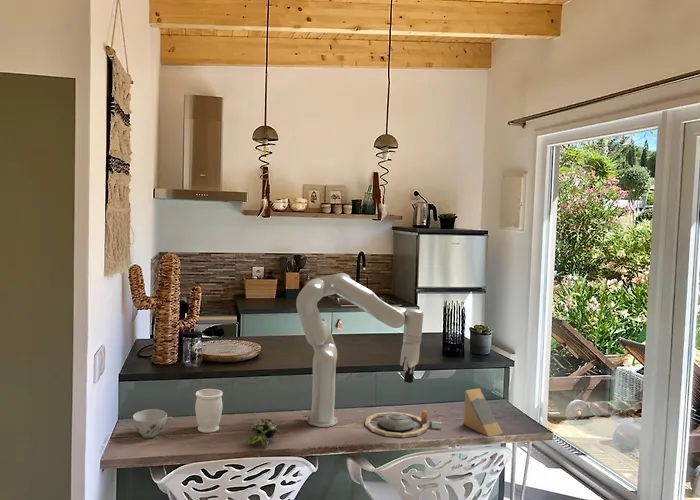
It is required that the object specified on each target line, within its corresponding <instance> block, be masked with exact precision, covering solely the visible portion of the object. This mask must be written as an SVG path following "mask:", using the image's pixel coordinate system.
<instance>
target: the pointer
mask: <svg viewBox="0 0 700 500" xmlns="http://www.w3.org/2000/svg"><path fill="white" fill-rule="evenodd" d="M428 423H429V425H428V427H429V428H428V429H434V430H442V427H443V426H442V425H443V424H442V421H433V420H432V421H429V422H428Z"/></svg>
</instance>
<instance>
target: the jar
mask: <svg viewBox="0 0 700 500" xmlns="http://www.w3.org/2000/svg"><path fill="white" fill-rule="evenodd" d="M222 396H223V391H222V390H220V389H216V388H203V389H200V390H197V391H196V392H195V397H196V399H195V400H196V401H195V405H194V406H195V408H194V410H195V417H196V422H197V424H198V425H197V426H198V427H197V430H198V432H200V433H204V434H205V433H208V434H210V433H215V432H217V431H219V430H220V426H219V424H220V422H221V418H222V413H223V398H222Z"/></svg>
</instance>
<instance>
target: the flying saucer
mask: <svg viewBox="0 0 700 500" xmlns="http://www.w3.org/2000/svg"><path fill="white" fill-rule="evenodd" d="M378 424H379V426H380V427H382V428H384V429H386V430H389V431H397V432H398V431H399V432H401V431H409V430H411V429H413V428H414V426H415V423H414V421H413V419H411V418H409V417H407V416H406V415H403V414H399V413H391V414H387V415H385V416H381V417H380V418H379V420H378Z"/></svg>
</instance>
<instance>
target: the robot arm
mask: <svg viewBox="0 0 700 500" xmlns="http://www.w3.org/2000/svg"><path fill="white" fill-rule="evenodd" d="M332 295H337V296H339V297H340V298H342V299H344V300H346V301H348V302H350V303H351V304H352V305H354V306H356V307H357V308H359V309H361V310H363V311H364V312H365V313H367V314H369V316H372V317H373V318H375V319H376V320H377V321H379V322H381V323H383V324H384V325H386V326H388V327H389V328H392V329H399V328H401V327H402V326H403V335H402V342H403V343H402V345H401V346H402V347H401V353H400V360H399V365H400V366H401V367H403V371H404V381H403V382H404V383H409V384H412V383H414V382H413V381H414V373H415V367H416V365H417V364H419V361H420V347H421V344H422V335H423V324H424V323H423V322H424V312H423V310H422V309H418V308H406V307H402V306H396V305H395V306H394V305H393V306H391V305H390V304H388V303H386V302H385V301H383V300H382V299H380V297H378V296H377V294H375V292H374V291H373V290H371V289H369V288H367V287H366V286H364V285H362V284H361V283H359V282H357V281H356V280H354V279H352V278H351V276H350V275H349V274H348V273H345V272H337V273H335V274H330V275H326V276H325V275H324V276H321V277H316V278H313V279H310V281H308V282H307V283H306V284H305V285H304V286H303V288H302V289H301V290H300V291H299V293H298V295H297V297H296V301H295V302H296V303H295V305H296V310H297V314H298V316H299V317H298V318H299V320H300V323H301V326H302V329H303V332H304V336H305V340H306V341H307V343H308V344H309V345H311V346H312V348H313V350H314V354H313V357H312V389H311V390H312V395H311V409H310V410H301V411H300V415H301V416H302V417H303V418H307V423H308V424H309V425H311V426H314V427H318V428H329V427H333V426H335V425H337V424H338V418H337V417H336V416H335V403H336V401H335V400H336V397H335V396H336V375H337V374H336V368H337V360H338V349H337V347H336V343H335V339H334V338H333V334H332V331H331V329H330V327H329V325H328V324H327V322H325V321H324V320H322V317H321V313H320V310H319V307H318V302H319V301H320V300H321V299H323V298H324V297H327V296H332Z"/></svg>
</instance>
